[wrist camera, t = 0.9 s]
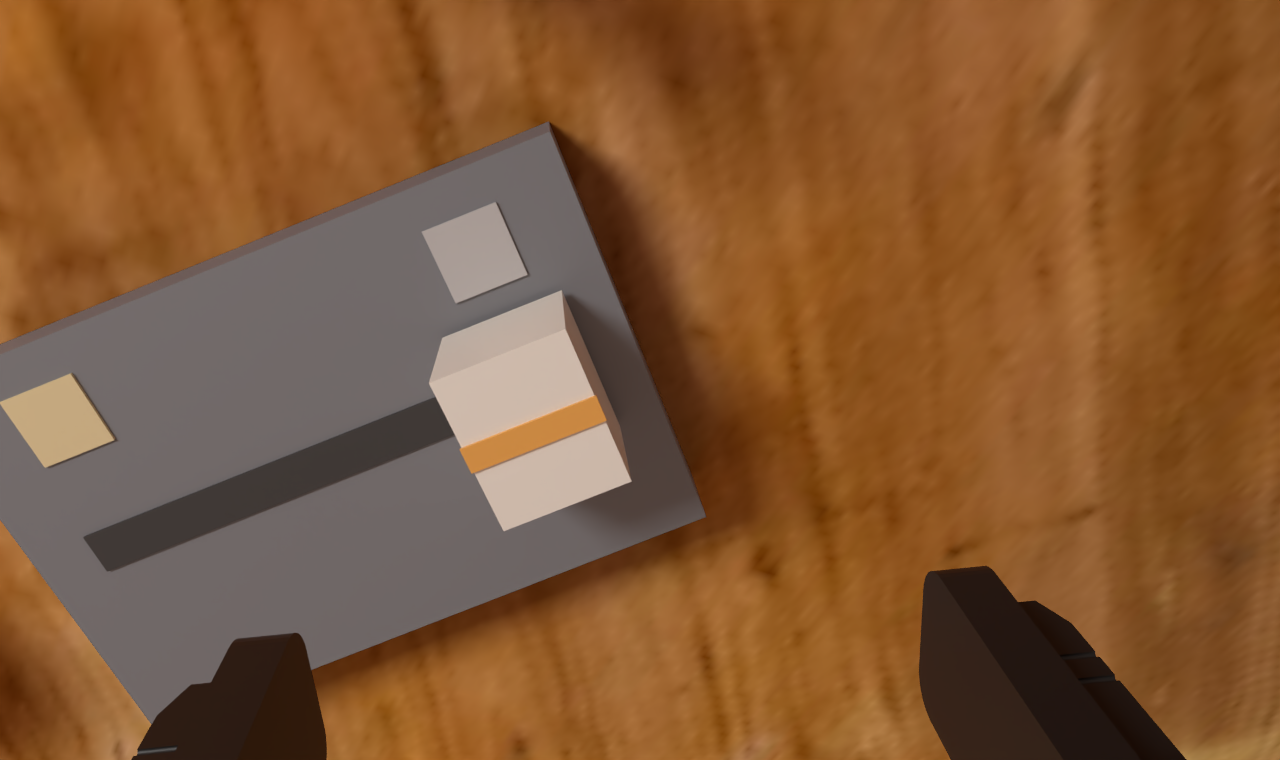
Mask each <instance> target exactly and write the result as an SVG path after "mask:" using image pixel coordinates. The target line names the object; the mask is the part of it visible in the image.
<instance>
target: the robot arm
mask: <svg viewBox="0 0 1280 760" xmlns="http://www.w3.org/2000/svg"><path fill="white" fill-rule="evenodd" d="M919 678H920V686H921V692H922V697H923V701H924V705H925V708H926V711H927V714H928V716H929V718H930V720H931V723H932V724H933V726H934V728H935V730H936V732H937V734H938V736H939V738H940V740H941V741H942V743H943V745H944V747H945V749H946V751H947V753H948V755H949V757H950V759H951V760H1186V759H1185V758H1184V756H1183V755H1182V754H1181V753H1180V752H1179V750H1178V749H1177V748H1176V747H1175V746H1174V745H1173V743H1172V742H1171V741H1170V740H1169V739H1168V737H1167V736H1166V735H1165V734H1164V733H1163V731H1162V730H1161V729H1160V728H1159V727H1158V726H1157V724H1156V723H1155V722H1154V721H1153V720H1152V718H1151V717H1150V716H1149V715H1148V714H1147V712H1146V711H1145V710H1144V709H1143V708H1142V707H1141V705H1140V704H1139V703H1138V702H1137V701H1136V699H1135V698H1134V697H1133V696H1132V695H1131V693H1130V692H1129V691H1128V690H1127V689H1126V688H1125V686H1124V685H1123V684H1122V683H1121V682H1120V681H1116V680H1115V674H1114V673H1113V672H1112V671H1111V670H1110V669H1109V667H1108V666H1107V665H1106V664H1105V663H1104V661H1103V660H1102V659H1101V658H1100V657H1096V655H1095V651H1094V650H1093V648H1092V647H1091V646H1090V645H1089V644H1088V642H1087V641H1086V640H1085V639H1084V638H1083V636H1082V635H1081V634H1080V633H1079V632H1078V631H1077V629H1076V628H1075V627H1074V626H1073V625H1072V623H1070V622H1069V621H1067V620H1065V619H1064V618H1062V617H1061V616H1059V615H1057V614H1056V613H1054V612H1053V611H1051V610H1049V609H1048V608H1046V607H1045V606H1043V605H1041V604H1040V603H1038V602H1037V601H1026V602H1017V600H1016V599H1015V598H1014V597H1013V595H1012V594H1011V593H1010V592H1009V590H1008V589H1007V588H1006V586H1005V585H1004V584H1003V583H1002V581H1001V580H1000V579H999V577H998V576H997V575H996V574H995V572H994V571H993V570H992V569H991V568H989V567H987V566H980V567H970V568H960V569H950V570H940V571H930V572H929V573H928V574H927V575H926V578H925V582H924V589H923V607H922V625H921V643H920V661H919ZM137 750H138V754H137V756H133V758H132V760H326V755H327V748H326V734H325V728H324V724H323V719H322V715H321V710H320V706H319V702H318V697H317V693H316V689H315V684H314V680H313V676H312V671H311V667H310V663H309V658H308V654H307V650H306V646H305V643H304V640H303V638H302V637H301V635H300V634H298V633H288V634H278V635H268V636H258V637H248V638H238V639H235V640H234V641H233V642H232V643H231V645H230V647H229V648H228V650H227V652H226V654H225V656H224V658H223V660H222V662H221V664H220V666H219V668H218V670H217V672H216V673H215V675H214V677H213V679H212V681H211V682H210V683H201V684H191V685H190V686H189V687H188V688H186V689H185V690H184V691H183V692H182V693H181V694H180V695H179V696H178V697H177V698H175V699H174V700H173V701H172V702H171V703H170V704H169V705H168V706H167V707H166V708H164V709H163V710H162V711H161V712H160V713H159V714H158V715H157V716H156V718H155V720H154V721H153V723H152V725H151V727H150V728H149V730H148V732H147V734H146V735H145V737H144V739H143V741H142V742H141V744H140V746H139V748H138V749H137Z"/></svg>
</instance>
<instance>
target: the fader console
mask: <svg viewBox="0 0 1280 760" xmlns="http://www.w3.org/2000/svg"><path fill="white" fill-rule="evenodd" d="M561 290H562V292H563V294H564V297H565V299H566V301H567V304H568V306H569V308H570V311H571V313H572V315H573V318H574V320H575V322H576V325H577V327H578V329H579V332H580V334H581V336H582V339H583V341H584V343H585V346H586V348H587V350H588V353H589V355H590V357H591V360H592V362H593V364H594V367H595V369H596V371H597V374H598V376H599V378H600V381H601V383H602V385H603V388H604V390H605V392H606V395H607V397H608V399H609V402H610V404H611V406H612V409H613V411H614V413H615V416H616V418H617V420H618V423H619V425H620V428H621V433H622V438H623V442H624V447H625V452H626V457H627V462H628V466H629V471H630V476H631V481H632V482H629V483H626V484H624V485H621V486H619V487H616V488H614V489H611V490H609V491H606V492H603V493H601V494H598V495H596V496H593V497H591V498H588V499H585V500H583V501H580V502H578V503H575V504H573V505H570V506H568V507H565V508H562V509H560V510H557V511H555V512H552V513H550V514H547V515H544V516H542V517H539V518H537V519H534V520H532V521H529V522H527V523H524V524H521V525H519V526H516V527H514V528H511V529H509V530H506V531H503V529H502V527H501V525H500V523H499V521H498V519H497V517H496V515H495V513H494V511H493V509H492V507H491V505H490V503H489V501H488V499H487V498H486V496H485V494H484V492H483V490H482V488H481V486H480V484H479V482H478V480H477V478H476V476H475V474H474V473H472V474H471V472H470V470H469V468H468V466H467V464H466V462H465V460H464V458H463V456H462V454H461V452H460V448H461V446H460V444H459V442H458V440H457V438H456V436H455V434H454V432H453V430H452V428H451V426H450V424H449V422H448V420H447V418H446V416H445V414H444V412H443V410H442V408H441V406H440V404H439V402H438V400H437V398H436V396H435V394H434V392H433V391H432V389H431V387H430V385H429V381H430V378H431V374H432V371H433V367H434V364H435V361H436V357H437V354H438V351H439V347H440V344H441V341H442V338H443V337H445V336H448V335H450V334H453V333H455V332H458V331H460V330H463V329H466V328H468V327H471V326H473V325H476V324H478V323H481V322H483V321H486V320H488V319H491V318H493V317H496V316H498V315H501V314H503V313H506V312H508V311H511V310H513V309H516V308H518V307H521V306H523V305H526V304H528V303H531V302H533V301H536V300H538V299H541V298H543V297H546V296H548V295H551V294H553V293H556V292H558V291H561ZM705 517H706V514H705V512H704V509H703V506H702V503H701V500H700V497H699V494H698V491H697V488H696V485H695V483H694V480H693V477H692V475H691V472H690V470H689V467H688V465H687V462H686V460H685V457H684V455H683V452H682V450H681V447H680V445H679V442H678V440H677V437H676V435H675V433H674V430H673V428H672V425H671V423H670V420H669V418H668V415H667V413H666V410H665V408H664V405H663V403H662V400H661V398H660V395H659V393H658V390H657V388H656V386H655V383H654V381H653V378H652V376H651V373H650V371H649V368H648V366H647V363H646V361H645V358H644V356H643V353H642V351H641V348H640V346H639V344H638V341H637V339H636V336H635V334H634V331H633V329H632V326H631V324H630V321H629V319H628V316H627V314H626V311H625V309H624V306H623V304H622V301H621V299H620V297H619V294H618V292H617V289H616V287H615V284H614V282H613V279H612V277H611V274H610V272H609V269H608V267H607V264H606V262H605V259H604V257H603V254H602V252H601V250H600V247H599V245H598V242H597V240H596V237H595V235H594V232H593V230H592V227H591V225H590V222H589V220H588V217H587V215H586V212H585V210H584V208H583V205H582V203H581V200H580V198H579V195H578V193H577V190H576V188H575V185H574V183H573V180H572V178H571V175H570V173H569V170H568V168H567V165H566V163H565V161H564V158H563V156H562V153H561V151H560V148H559V146H558V143H557V141H556V138H555V136H554V133H553V131H552V128H551V126H550V123H549V122H547V123H544V124H542V125H539V126H537V127H534V128H532V129H529V130H527V131H524V132H522V133H520V134H517V135H515V136H512V137H510V138H507V139H505V140H502V141H500V142H497V143H495V144H492V145H490V146H488V147H485V148H483V149H480V150H478V151H475V152H473V153H470V154H468V155H465V156H463V157H460V158H458V159H456V160H453V161H451V162H448V163H446V164H443V165H441V166H438V167H436V168H433V169H431V170H428V171H426V172H424V173H421V174H419V175H416V176H414V177H411V178H409V179H406V180H404V181H401V182H399V183H396V184H394V185H392V186H389V187H387V188H384V189H382V190H379V191H377V192H374V193H372V194H369V195H367V196H364V197H362V198H360V199H357V200H355V201H352V202H350V203H347V204H345V205H342V206H340V207H337V208H335V209H332V210H330V211H328V212H325V213H323V214H320V215H318V216H315V217H313V218H310V219H308V220H305V221H303V222H300V223H298V224H296V225H293V226H291V227H288V228H286V229H283V230H281V231H278V232H276V233H273V234H271V235H268V236H266V237H263V238H261V239H259V240H256V241H254V242H251V243H249V244H246V245H244V246H241V247H239V248H236V249H234V250H231V251H229V252H227V253H224V254H222V255H219V256H217V257H214V258H212V259H209V260H207V261H204V262H202V263H199V264H197V265H195V266H192V267H190V268H187V269H185V270H182V271H180V272H177V273H175V274H172V275H170V276H167V277H165V278H163V279H160V280H158V281H155V282H153V283H150V284H148V285H145V286H143V287H140V288H138V289H135V290H133V291H131V292H128V293H126V294H123V295H121V296H118V297H116V298H113V299H111V300H108V301H106V302H103V303H101V304H99V305H96V306H94V307H91V308H89V309H86V310H84V311H81V312H79V313H76V314H74V315H71V316H69V317H67V318H64V319H62V320H59V321H57V322H54V323H52V324H49V325H47V326H44V327H42V328H39V329H37V330H35V331H32V332H30V333H27V334H25V335H22V336H20V337H17V338H15V339H12V340H10V341H7V342H5V343H2V344H0V520H1V522H2V523H3V524H4V526H5V527H6V528H7V530H8V531H9V532H10V534H11V535H12V536H13V538H14V539H15V540H16V542H17V543H18V545H19V546H20V547H21V549H22V550H23V551H24V553H25V554H26V555H27V557H28V558H29V559H30V561H31V562H32V563H33V565H34V566H35V567H36V569H37V570H38V572H39V573H40V574H41V576H42V577H43V578H44V580H45V581H46V582H47V584H48V585H49V586H50V588H51V589H52V590H53V592H54V593H55V595H56V596H57V597H58V599H59V600H60V601H61V603H62V604H63V605H64V607H65V608H66V609H67V611H68V612H69V613H70V615H71V616H72V617H73V619H74V620H75V622H76V623H77V624H78V626H79V627H80V628H81V630H82V631H83V632H84V634H85V635H86V636H87V638H88V639H89V640H90V642H91V643H92V645H93V646H94V647H95V649H96V650H97V651H98V653H99V654H100V655H101V657H102V658H103V659H104V661H105V662H106V663H107V665H108V666H109V667H110V669H111V670H112V672H113V673H114V674H115V676H116V677H117V678H118V680H119V681H120V682H121V684H122V685H123V686H124V688H125V689H126V690H127V692H128V693H129V695H130V696H131V697H132V699H133V700H134V701H135V703H136V704H137V705H138V707H139V708H140V709H141V711H142V712H143V713H144V715H145V716H146V717H147V719H148V720H149V722H150V723H151V724H152V723H153V721H154V720H155V718H156V716H157V715H158V714H159V713H160V712H161V711H162V710H163V709H164V708H166V707H167V706H168V705H169V704H170V703H171V702H172V701H173V700H174V699H175V698H177V697H178V696H179V695H180V694H181V693H182V692H183V691H184V690H185V689H186V688H188V687H189V686H190V685H191V684H201V683H210V682H211V681H212V679H213V677H214V675H215V673H216V672H217V670H218V668H219V666H220V664H221V662H222V660H223V658H224V656H225V654H226V652H227V650H228V648H229V647H230V645H231V643H232V642H233V641H234V640H235V639H238V638H248V637H258V636H268V635H278V634H288V633H298V634H300V635H301V637H302V638H303V640H304V643H305V646H306V650H307V654H308V658H309V663H310V667H311V670H312V669H315V668H318V667H320V666H323V665H325V664H328V663H330V662H333V661H336V660H338V659H341V658H343V657H346V656H348V655H351V654H354V653H356V652H359V651H361V650H364V649H367V648H369V647H372V646H374V645H377V644H379V643H382V642H385V641H387V640H390V639H392V638H395V637H397V636H400V635H403V634H405V633H408V632H410V631H413V630H416V629H418V628H421V627H423V626H426V625H428V624H431V623H434V622H436V621H439V620H441V619H444V618H447V617H449V616H452V615H454V614H457V613H459V612H462V611H465V610H467V609H470V608H472V607H475V606H477V605H480V604H483V603H485V602H488V601H490V600H493V599H496V598H498V597H501V596H503V595H506V594H508V593H511V592H514V591H516V590H519V589H521V588H524V587H526V586H529V585H532V584H534V583H537V582H539V581H542V580H545V579H547V578H550V577H552V576H555V575H557V574H560V573H563V572H565V571H568V570H570V569H573V568H576V567H578V566H581V565H583V564H586V563H588V562H591V561H594V560H596V559H599V558H601V557H604V556H606V555H609V554H612V553H614V552H617V551H619V550H622V549H625V548H627V547H630V546H632V545H635V544H637V543H640V542H643V541H645V540H648V539H650V538H653V537H655V536H658V535H661V534H663V533H666V532H668V531H671V530H674V529H676V528H679V527H681V526H684V525H686V524H689V523H692V522H694V521H697V520H699V519H702V518H705Z"/></svg>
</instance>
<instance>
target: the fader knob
mask: <svg viewBox="0 0 1280 760" xmlns="http://www.w3.org/2000/svg"><path fill="white" fill-rule="evenodd" d="M429 385H430V387H431V389H432V391H433V392H434V394H435V396H436V398H437V400H438V402H439V404H440V406H441V408H442V410H443V412H444V414H445V416H446V418H447V420H448V422H449V424H450V426H451V428H452V430H453V432H454V434H455V436H456V438H457V440H458V442H459V444H460V446H461V448H460V452H461V454H462V456H463V458H464V460H465V462H466V464H467V466H468V468H469V470H470V472H471V474H472V473H474V474H475V476H476V478H477V480H478V482H479V484H480V486H481V488H482V490H483V492H484V494H485V496H486V498H487V499H488V501H489V503H490V505H491V507H492V509H493V511H494V513H495V515H496V517H497V519H498V521H499V523H500V525H501V527H502V529H503V531H506V530H509V529H511V528H514V527H516V526H519V525H521V524H524V523H527V522H529V521H532V520H534V519H537V518H539V517H542V516H544V515H547V514H550V513H552V512H555V511H557V510H560V509H562V508H565V507H568V506H570V505H573V504H575V503H578V502H580V501H583V500H585V499H588V498H591V497H593V496H596V495H598V494H601V493H603V492H606V491H609V490H611V489H614V488H616V487H619V486H621V485H624V484H626V483H629V482H632V481H631V476H630V471H629V466H628V462H627V457H626V452H625V447H624V442H623V438H622V433H621V428H620V425H619V423H618V420H617V418H616V416H615V413H614V411H613V409H612V406H611V404H610V402H609V399H608V397H607V395H606V392H605V390H604V388H603V385H602V383H601V381H600V378H599V376H598V374H597V371H596V369H595V367H594V364H593V362H592V360H591V357H590V355H589V353H588V350H587V348H586V346H585V343H584V341H583V339H582V336H581V334H580V332H579V329H578V327H577V325H576V322H575V320H574V318H573V315H572V313H571V311H570V308H569V306H568V304H567V301H566V299H565V297H564V294H563V292H562V290H561V291H558V292H556V293H553V294H551V295H548V296H546V297H543V298H541V299H538V300H536V301H533V302H531V303H528V304H526V305H523V306H521V307H518V308H516V309H513V310H511V311H508V312H506V313H503V314H501V315H498V316H496V317H493V318H491V319H488V320H486V321H483V322H481V323H478V324H476V325H473V326H471V327H468V328H466V329H463V330H460V331H458V332H455V333H453V334H450V335H448V336H445V337H443V338H442V341H441V344H440V347H439V351H438V354H437V357H436V361H435V364H434V367H433V371H432V374H431V378H430V381H429Z"/></svg>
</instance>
